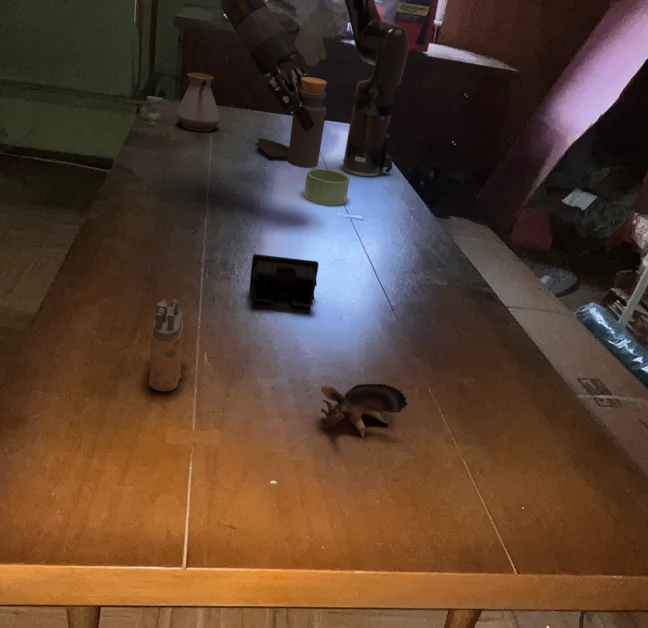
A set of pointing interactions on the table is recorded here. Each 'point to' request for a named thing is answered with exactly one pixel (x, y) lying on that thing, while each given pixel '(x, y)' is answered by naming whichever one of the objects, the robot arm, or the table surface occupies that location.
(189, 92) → the coffee pot
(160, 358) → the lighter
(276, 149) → the dark sector wedge
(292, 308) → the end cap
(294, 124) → the bottle
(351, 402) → the dark toy animal
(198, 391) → the table surface
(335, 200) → the holder
